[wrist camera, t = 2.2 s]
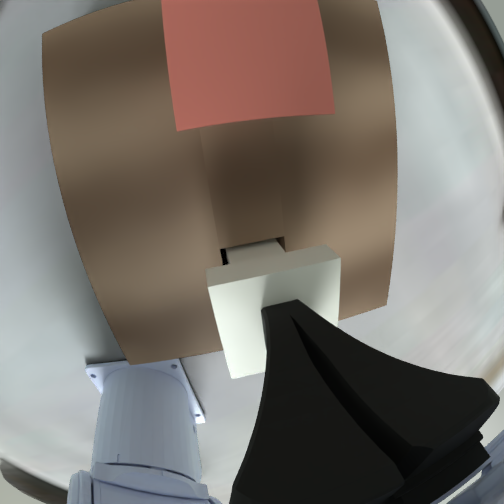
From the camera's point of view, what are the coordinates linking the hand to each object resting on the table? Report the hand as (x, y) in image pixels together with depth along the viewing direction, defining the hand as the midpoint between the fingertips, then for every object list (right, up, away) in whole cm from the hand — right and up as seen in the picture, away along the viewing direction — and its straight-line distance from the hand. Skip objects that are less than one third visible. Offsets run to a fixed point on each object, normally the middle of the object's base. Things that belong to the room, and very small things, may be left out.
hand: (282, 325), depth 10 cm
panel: (-2, +7, +5) cm, 9 cm away
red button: (-2, +10, +1) cm, 10 cm away
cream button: (-1, +2, +5) cm, 5 cm away
